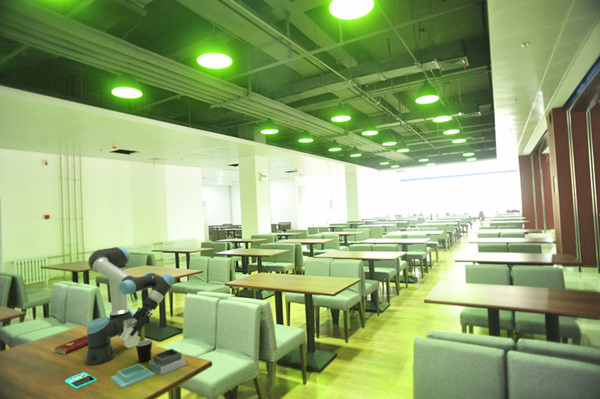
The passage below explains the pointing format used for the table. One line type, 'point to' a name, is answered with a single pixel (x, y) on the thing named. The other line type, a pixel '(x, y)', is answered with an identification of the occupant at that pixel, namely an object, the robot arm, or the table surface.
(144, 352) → the coffee mug
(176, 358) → the upper socket stand
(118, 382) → the lower socket plate
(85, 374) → the handheld game console
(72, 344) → the hardcover book
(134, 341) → the plug block
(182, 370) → the table surface
